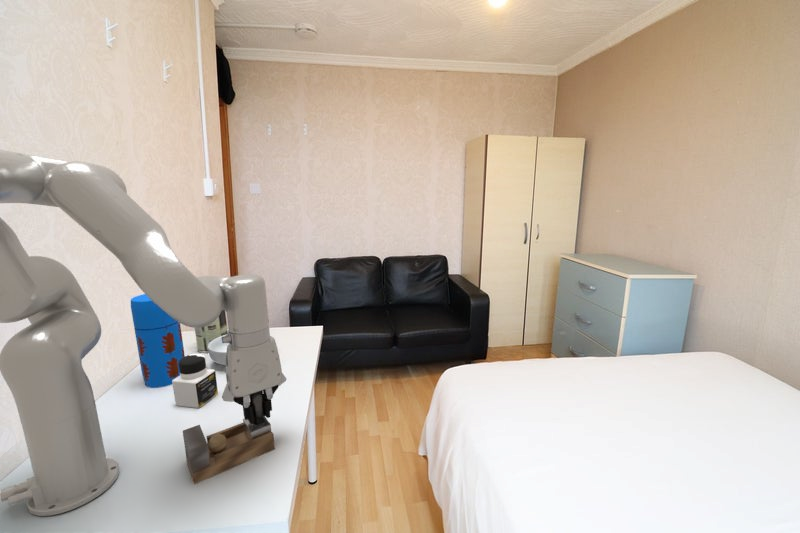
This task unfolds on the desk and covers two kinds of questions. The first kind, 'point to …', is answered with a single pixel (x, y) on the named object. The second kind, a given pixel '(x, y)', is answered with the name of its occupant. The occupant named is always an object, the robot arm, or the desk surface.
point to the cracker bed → (232, 455)
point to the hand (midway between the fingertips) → (258, 417)
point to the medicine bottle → (194, 382)
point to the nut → (217, 443)
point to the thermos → (156, 342)
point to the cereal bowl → (218, 350)
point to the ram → (257, 418)
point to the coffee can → (211, 332)
